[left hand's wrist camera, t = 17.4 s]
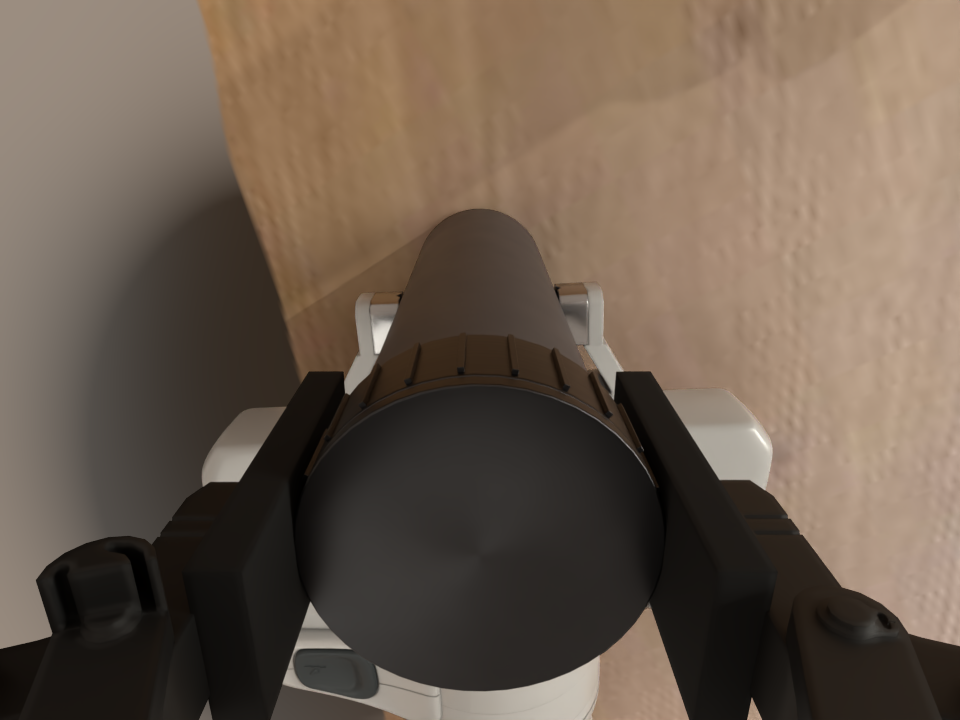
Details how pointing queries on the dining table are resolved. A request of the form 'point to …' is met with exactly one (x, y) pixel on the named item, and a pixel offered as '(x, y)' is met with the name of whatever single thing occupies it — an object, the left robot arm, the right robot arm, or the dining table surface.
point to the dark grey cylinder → (479, 288)
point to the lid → (479, 516)
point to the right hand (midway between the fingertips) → (477, 291)
